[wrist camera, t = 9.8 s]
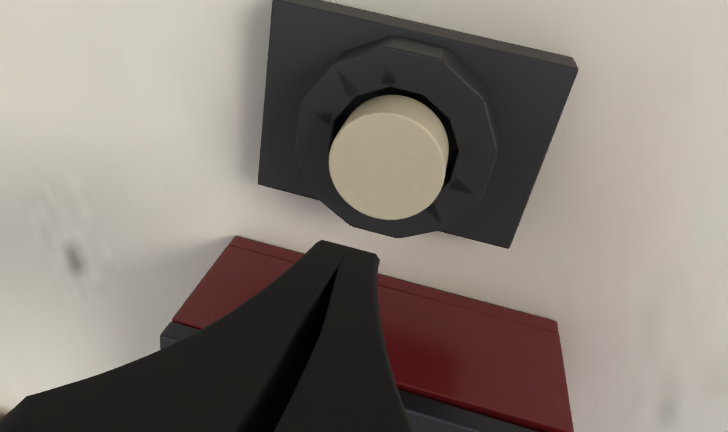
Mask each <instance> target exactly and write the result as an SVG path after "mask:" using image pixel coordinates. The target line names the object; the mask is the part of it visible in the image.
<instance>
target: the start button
mask: <svg viewBox="0 0 728 432" xmlns="http://www.w3.org/2000/svg"><path fill="white" fill-rule="evenodd" d="M448 154H449V143H448V137H447V134H446V131H445V128H444V126H443V124H442V123H441V121H440V120H439V118H438V117H437V115H436V114H435V113H434V112H433V111H432V110H431V109H429V108H428V107H427V106H426V105H424V104H422V103H421V102H419V101H417V100H415V99H412V98H409V97H406V96H400V95H383V96H378V97H375V98H372V99H369V100H367V101H366V102H364V103H362V104H361V105H359V106H358V107H357V108H356V109H355V110H354V111H353V112H352V113H351V114H350V116H349V117H348V119H347V120H346V122H345V123H344V125H343V126H342V128H341V129H340V131H339V132H338V134H337V136H336V137H335V139H334V141H333V143H332V146H331V149H330V153H329V171H330V176H331V179H332V181H333V184H334V186H335V188H336V190H337V191H338V193H339V194H340V195H341V197H342V198H343V199H344V200H345V201H346V202H347V203H348V204H349V205H350V206H352V207H353V208H354V209H356V210H358V211H359V212H361V213H363V214H365V215H368V216H371V217H374V218H378V219H384V220H398V219H404V218H408V217H411V216H413V215H416V214H418V213H419V212H421V211H423V210H424V209H426V208H427V207H428V206H429V205H430V204H431V203H432V202H433V201H434V200H435V199H436V197H437V196H438V194H439V192H440V191H441V188H442V186H443V183H444V178H445V172H446V166H447V161H448Z"/></svg>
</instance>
